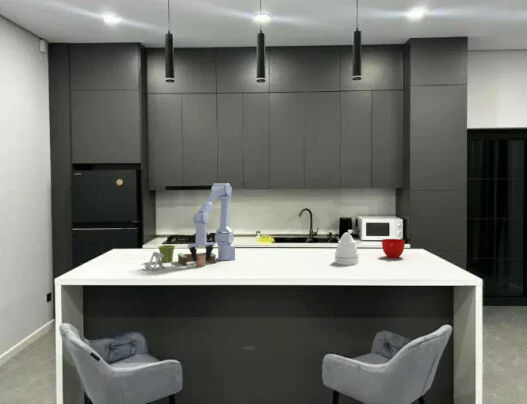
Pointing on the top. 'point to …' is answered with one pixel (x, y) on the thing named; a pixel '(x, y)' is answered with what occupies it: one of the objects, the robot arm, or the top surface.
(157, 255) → the portable electronic device stand
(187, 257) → the green brown u-shaped frame
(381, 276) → the top surface
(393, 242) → the ceramic cup
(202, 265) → the seedling pot
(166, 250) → the plant pot
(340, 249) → the honey pot
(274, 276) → the top surface
